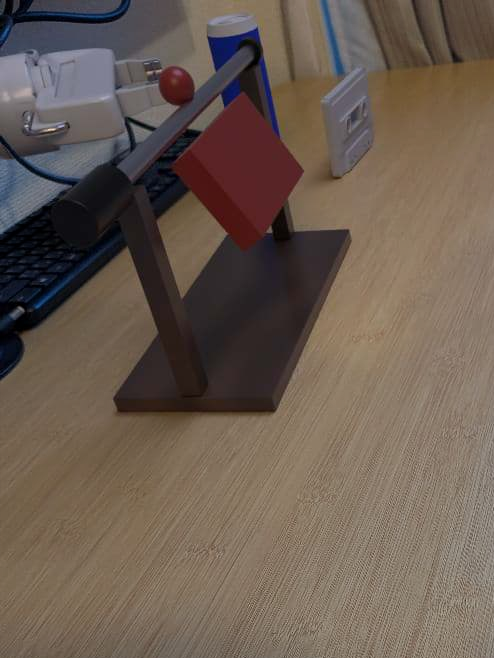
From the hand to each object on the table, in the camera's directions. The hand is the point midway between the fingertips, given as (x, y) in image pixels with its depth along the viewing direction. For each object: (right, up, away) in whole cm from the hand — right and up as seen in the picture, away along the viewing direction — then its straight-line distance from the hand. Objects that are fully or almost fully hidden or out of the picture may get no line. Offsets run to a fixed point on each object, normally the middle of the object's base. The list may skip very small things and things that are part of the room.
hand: (164, 79), depth 84 cm
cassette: (+19, -4, +8) cm, 21 cm away
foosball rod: (+15, -24, -24) cm, 37 cm away
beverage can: (+9, -6, +8) cm, 14 cm away
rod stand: (+12, -29, -16) cm, 35 cm away
